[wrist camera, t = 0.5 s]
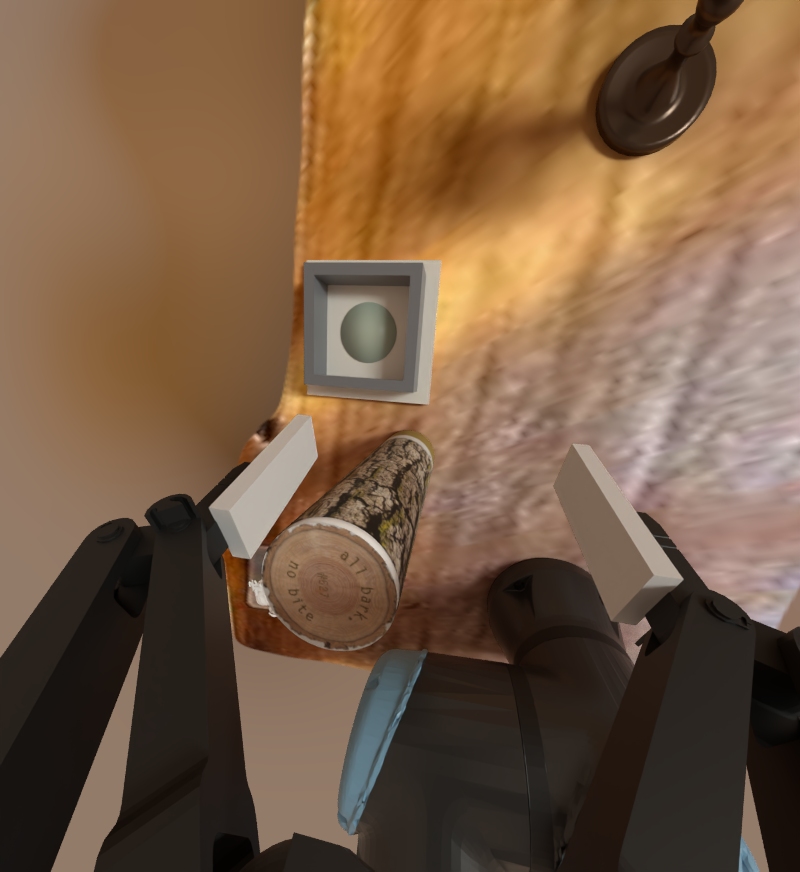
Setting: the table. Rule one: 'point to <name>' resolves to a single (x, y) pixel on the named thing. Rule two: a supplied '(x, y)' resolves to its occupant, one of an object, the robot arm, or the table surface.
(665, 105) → the candlestick
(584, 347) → the table surface
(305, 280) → the collar stand
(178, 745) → the robot arm
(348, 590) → the paper tube
